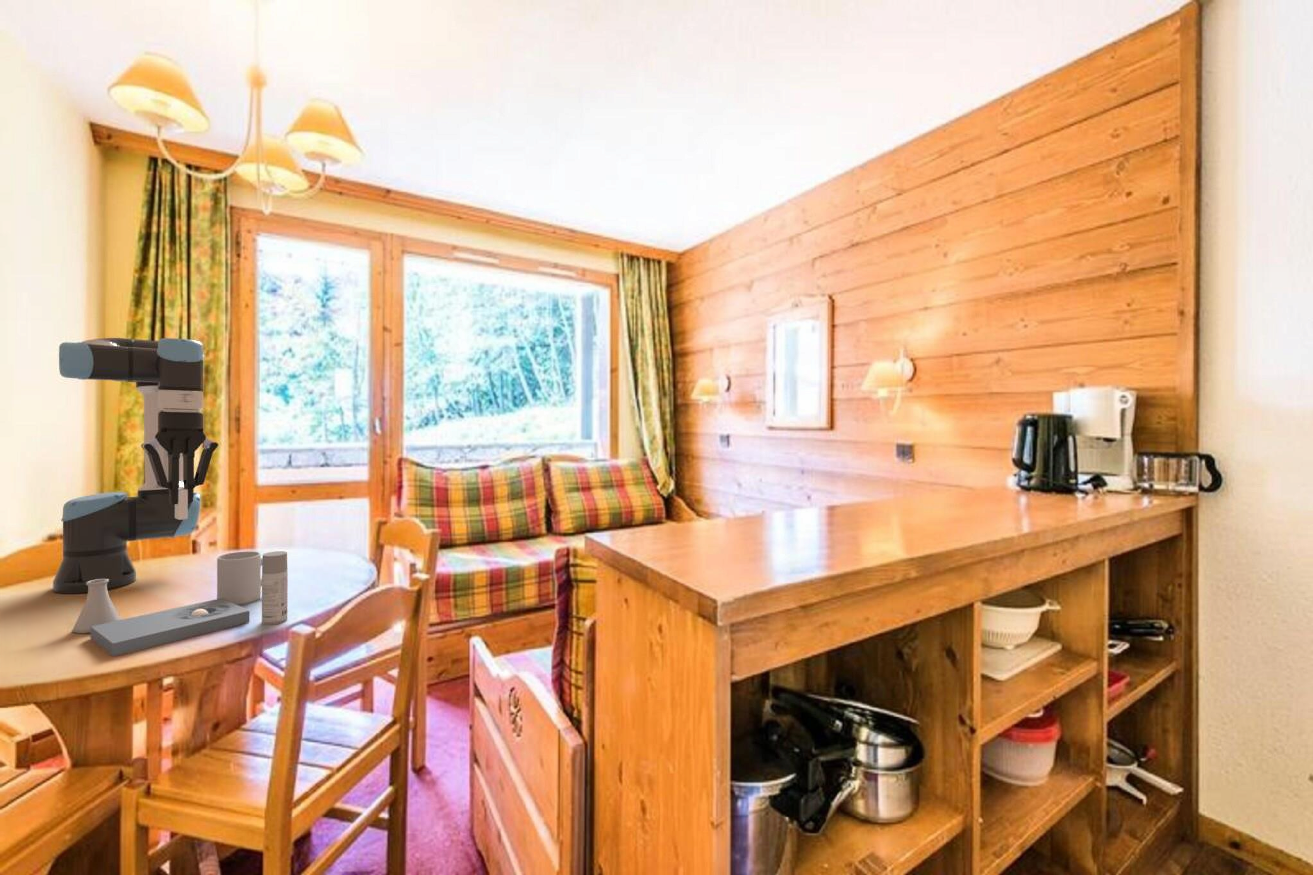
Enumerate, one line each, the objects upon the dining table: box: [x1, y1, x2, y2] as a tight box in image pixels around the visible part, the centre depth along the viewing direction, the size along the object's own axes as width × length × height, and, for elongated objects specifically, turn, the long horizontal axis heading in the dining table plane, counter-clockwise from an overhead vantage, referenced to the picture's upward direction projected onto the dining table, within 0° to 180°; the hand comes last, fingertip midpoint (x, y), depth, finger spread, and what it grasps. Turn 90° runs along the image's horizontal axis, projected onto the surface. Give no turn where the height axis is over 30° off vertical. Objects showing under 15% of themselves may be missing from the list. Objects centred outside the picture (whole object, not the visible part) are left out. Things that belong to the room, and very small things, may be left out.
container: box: [261, 550, 289, 626], centre depth 123 cm, size 5×5×15 cm
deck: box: [90, 598, 250, 658], centre depth 117 cm, size 14×22×2 cm, turn 147°
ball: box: [191, 609, 209, 615], centre depth 120 cm, size 3×3×3 cm
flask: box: [71, 579, 123, 634], centre depth 117 cm, size 7×7×10 cm
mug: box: [216, 550, 263, 606], centre depth 137 cm, size 12×8×11 cm
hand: (181, 518), depth 123 cm, fingers closed
